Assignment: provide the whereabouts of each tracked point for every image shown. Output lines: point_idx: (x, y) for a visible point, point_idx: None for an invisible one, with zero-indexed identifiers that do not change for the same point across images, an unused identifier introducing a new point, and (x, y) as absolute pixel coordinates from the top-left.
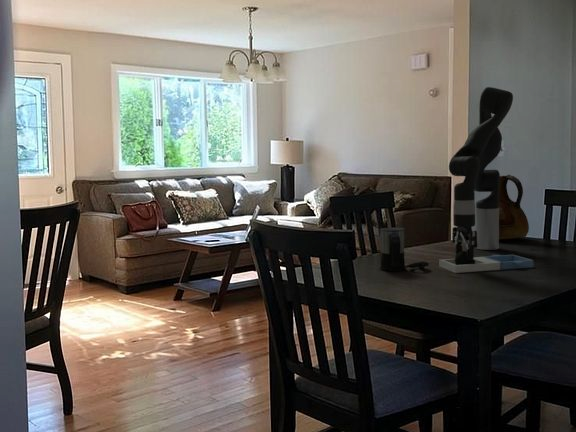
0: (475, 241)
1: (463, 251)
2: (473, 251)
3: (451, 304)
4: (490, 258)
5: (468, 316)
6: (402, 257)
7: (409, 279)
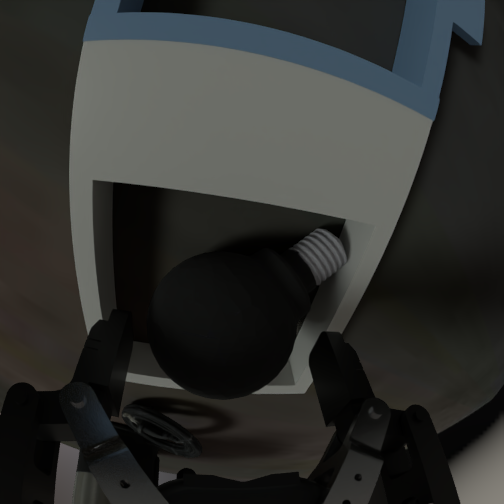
0: (429, 455)
1: (233, 392)
2: (359, 379)
3: (453, 416)
4: (230, 23)
5: (480, 406)
6: (145, 472)
7: (282, 450)
